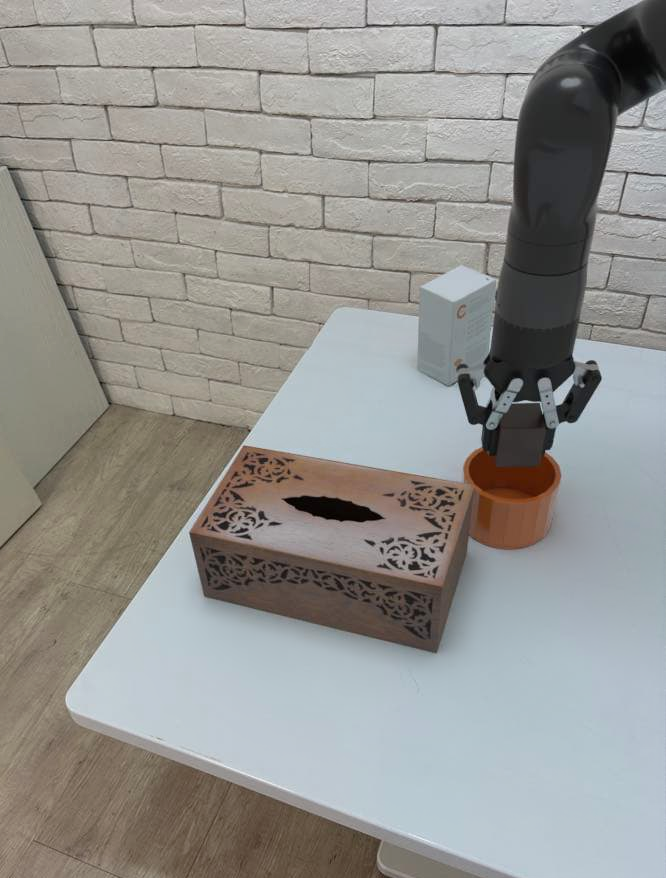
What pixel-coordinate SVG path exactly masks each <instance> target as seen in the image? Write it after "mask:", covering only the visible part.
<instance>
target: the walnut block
mask: <svg viewBox="0 0 666 878" xmlns="http://www.w3.org/2000/svg"><path fill="white" fill-rule="evenodd" d="M498 429H499V430H498V438H497V445H496V452H495V456H494V461H495V467H539V463H540V458H541V452H542V447H543V442H544V437H545V431H546V427H545V423H544V418H543V409H542V405H541V402H520V403H519V402H512V404H511V406H510V408H509V410H508V411H507V413H506V414H504V415H503V417H502V419H501V421H500V422H499V424H498Z"/></svg>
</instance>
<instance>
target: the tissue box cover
mask: <svg viewBox="0 0 666 878" xmlns="http://www.w3.org/2000/svg"><path fill="white" fill-rule="evenodd" d="M474 486H475V485H472V484H466V483H462V482H460V481H454V480H448V479H442V478H438V477H437V478H436V477H430V476H424V475H418V474H414V473H413V474H412V473H407V472H402V471H395V470H391V469H384V468H379V467H372V466H368V465H360V464H355V463H349V462H343V461H337V460H332V459H325V458H320V457H315V456H309V455H302V454H297V453H291V452H286V451H279V450H273V449H269V448H262V447H256V446H251V445H245V444H243V445H242V447H241V448H240V450H239V452H238V454H237V455H236V457H235V458H234V459H233V461H232V463H231V464H230V466H229V467H228V470H226V472H225V474H224V476H223V477H222V479H221V481H220V482H219V484H218V485H217V487H216V488H215V490H214V491H213V493H212V495H211V496H210V497H209V499H208V501H207V503H206V504H205V506H204V508H203V509H202V511H201V512H200V513H199V515H198V516H197V519H196V521H195V522H194V523H193V525H192V526H191V528H190V530H189V531H188V534H189V538H190V542H191V543H190V544H191V547H192V551H193V555H194V559H195V560H194V561H195V563H196V568H197V572H198V576H199V580H200V585H201V590H202V594H203V597H206V598H210V599H213V600H216V601H217V600H218V601H222V602H226V603H231V604H234V605H237V606H242V607H247V608H250V609H254V610H259V611H262V612H267V613H271V614H275V615H279V616H284V617H287V618H291V619H295V620H299V621H304V622H306V623H307V622H308V623H312V624H315V625H320V626H324V627H328V628H332V629H336V630H341V631H344V632H349V633H353V634H357V635H361V636H365V637H369V638H372V639H373V638H374V639H377V640H380V641H381V640H382V641H386V642H389V643H394V644H398V645H402V646H406V647H408V648H409V647H410V648H415V649H419V650H422V651H426V652H431V653H434V654H437V653H438V650H439V647H440V644H441V640H442V638H443V633H444V630H445V627H446V624H447V620H448V617H449V613H450V610H451V607H452V604H453V601H454V597H455V594H456V591H457V587H458V584H459V580H460V577H461V574H462V571H463V567H464V563H465V560H466V557H467V554H468V547H469V538H470V535H469V530H470V521H471V512H472V504H473V495H474Z"/></svg>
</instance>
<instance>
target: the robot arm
mask: <svg viewBox="0 0 666 878" xmlns="http://www.w3.org/2000/svg"><path fill="white" fill-rule="evenodd" d="M663 91H666V0H640V1H639V2H638V3H636V4H633V5H631V6H629V7H628V8H625V9H623V10H621V11H620V12H618V13H616V14H614V15H612V16H611V17H609V18H607V19H605V20H603V21H602V22H600V23H599V24H596V25H595V26H592V27H591V28H590V29H588V30H586V31H584V32H582V33H581V34H580V35H578V36H576V37H574V38H573V39H572V40H570V41H569V42H567V43H566V44H564V45H563V46H561V47H560V48H559V49H557V50H556V51H555V52H554V53H553V54H551V55H550V56H549V57H548V58H547V59H545V61H543V62H542V63H541V65H540V66H539V67H538V68H537V69H536V70H535V72H534V74H533V75H532V77H531V79H530V81H529V84H528V86H527V89H526V92H525V94H524V97H523V100H522V103H521V105H520V108H519V109H520V110H519V113H518V118H517V124H516V125H517V126H516V130H515V131H516V132H515V133H516V134H515V141H514V155H513V174H512V175H513V176H512V177H513V179H512V180H513V182H512V183H513V184H512V191H513V192H512V196H513V197H512V199H513V200H512V203H511V207H510V210H509V215H508V221H507V230H506V236H505V237H506V238H505V247H504V255H503V260H502V265H501V269H500V272H499V277H498V280H497V281H498V282H497V289H495V295H494V301H495V306H494V313H493V314H494V316H493V322H492V330H491V331H492V333H491V339H490V347H489V352H488V356H487V357H486V359H485V360H484V362H483V364H481V365H477V366H473V367H470V368H468V366H467V365H466V364H460V365H458V366H457V368H456V372H457V380H458V381H457V385H458V390H459V393H460V396H461V400H462V403H463V407H464V410H465V414H466V418H467V422H468V424H469V425H471V426H475V425H478V424H479V425H481V426H482V427H481V434H480V435H481V436H480V441H481V447H482V448H483V450H484V451H487V452H488V456H495V452H496V445H497V438H498V430H499V429H498V424H499V422H500V421H501V419H502V417H503V415H504V414H506V413H507V411H508V410H509V408H510V406H511V404H512V403H519V402H520V403H521V402H525V401H526V402H531V403H540V405H541V410H542V414H543V418H544V423H545V427H546V431H545V437H544V442H543V447H542V452H541V455H545V452H546V451H551V449H552V448H553V445H554V440H555V436H556V430H557V427H559V425H560V424H563V423H565V422H566V423H568V424H574V423H576V422H578V420H579V419H580V417H581V415H582V414H583V412H584V410H585V408H586V407H587V405H588V403H589V402H590V401H591V399H592V397H593V395H594V394H595V392H596V390H597V389H598V387H599V385H600V383H601V382H602V379H603V377H602V374H601V371H600V368H599V365H598V362H597V361H596V360H594V359H591V360H587V361H586V362H585V363H584V362H580V361H576V360H575V359H574V356H573V354H574V350H575V345H576V339H577V335H578V329H579V325H580V319H581V315H582V310H583V304H584V301H585V295H586V289H587V283H588V266H589V265H588V264H589V259H590V254H591V249H592V245H593V239H594V233H595V229H596V223H597V214H598V198H599V196H600V195H599V194H600V191H601V187H602V185H603V180H604V177H605V173H606V170H607V166H608V161H609V158H610V152H611V149H612V145H613V140H614V137H615V132H616V127H617V123H618V117H620V116H621V115H623V114H624V113H626V112H627V111H629V110H631V109H633V108H634V107H636V106H638V105H640V104H642V103H644V102H646V101H647V100H649V99H650V98H652V97H654V96H656V95H657V94H660V93H661V92H663ZM571 376H572V380H573V383H572V385H571V387H570V389H569V390H568V392H567V394H566V396H565V398H564V399H563V401H562V403H560V404H557V405H556V401H555V395H554V392H555V391H557V390H558V389H559V388H560V387H561V386H562V385H563V384H564V383H565V382H566V381H567V380H568V379H569V378H570V377H571ZM484 378H486V379H487V380H488V382H489V383H490V384H491V386H492V389H491V390H490V391H491V392H490V396H489V399H488V400H487V402H486V405H485V406H483V405H479V402H478V398H477V394H476V391H477V390H478V388H479V387H480V386H481V380H482V379H484Z"/></svg>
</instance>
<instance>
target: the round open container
mask: <svg viewBox="0 0 666 878" xmlns="http://www.w3.org/2000/svg"><path fill="white" fill-rule="evenodd" d="M562 476H563V475H562V471H561V467H560V464H559V463H558V462H557V461H556V459H555V458H554V457H553V456H552V455H550V454H549V453H547V452H546V451H545V455H541V458H540V463H539V467H495V461H494V456H488V452H487V451H484V450H483V448H482V446H480V447H479V448H477V449H474V450H473V451H472V452H471V453H470V455H468V456H467V457H466V459H465V461H464V463H463V466H462V473H461V483H466V484H472V485H475V486H474V495H473V504H472V512H471V521H470V530H469V537H470V538H472V539H473V540H474V541H477V542H478V543H481V544H483V545H484V546H488V547H490V548H496V549H501V550H517V549H523V548H528V547H531V546H533V545H536V544H537V543H539V542H540V541H541V540H542V539H544V538H545V537H546V536H547V535H548V533H549V531H550V529H551V526H552V522H553V518H554V515H555V514H554V513H555V508H556V505H557V500H558V495H559V490H560V485H561V481H562Z"/></svg>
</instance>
